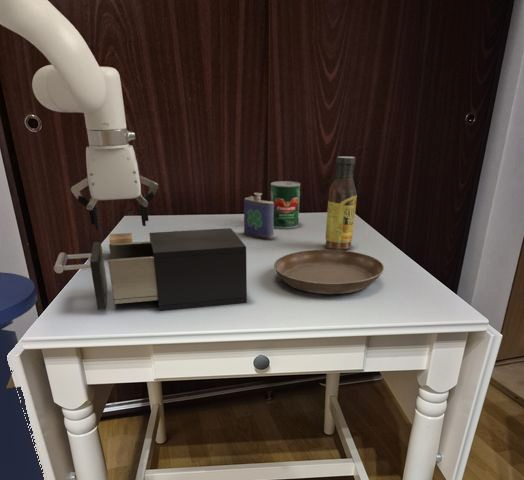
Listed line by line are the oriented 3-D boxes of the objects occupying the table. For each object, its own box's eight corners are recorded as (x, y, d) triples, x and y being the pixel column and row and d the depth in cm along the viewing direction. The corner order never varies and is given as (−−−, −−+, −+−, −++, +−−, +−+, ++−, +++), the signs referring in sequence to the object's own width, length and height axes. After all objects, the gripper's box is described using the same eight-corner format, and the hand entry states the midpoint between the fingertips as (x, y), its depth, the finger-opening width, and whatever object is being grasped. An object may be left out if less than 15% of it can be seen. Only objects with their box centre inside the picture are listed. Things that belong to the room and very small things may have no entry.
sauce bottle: (345, 252, 110) (353, 159, 100) (320, 248, 113) (325, 157, 103) (356, 246, 115) (364, 156, 105) (331, 242, 118) (338, 154, 108)
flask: (275, 238, 120) (276, 194, 115) (267, 240, 118) (268, 195, 113) (248, 232, 126) (247, 189, 121) (240, 234, 124) (239, 191, 119)
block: (112, 260, 104) (109, 239, 101) (112, 254, 107) (109, 234, 105) (134, 259, 105) (131, 238, 102) (133, 253, 108) (131, 232, 106)
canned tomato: (280, 230, 128) (281, 186, 123) (264, 224, 134) (264, 182, 129) (304, 226, 132) (306, 184, 127) (287, 220, 138) (289, 180, 132)
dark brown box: (159, 310, 80) (153, 252, 75) (154, 284, 90) (149, 232, 86) (246, 302, 83) (246, 246, 78) (232, 278, 94) (230, 227, 89)
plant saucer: (261, 293, 87) (261, 275, 85) (286, 260, 104) (287, 245, 103) (378, 305, 82) (380, 287, 80) (384, 268, 100) (386, 252, 98)
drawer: (60, 313, 76) (50, 264, 72) (67, 287, 86) (58, 244, 82) (182, 302, 80) (179, 255, 77) (176, 279, 90) (172, 237, 87)
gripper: (152, 136, 100) (160, 219, 108) (63, 138, 96) (79, 224, 105) (154, 139, 94) (163, 227, 102) (59, 142, 90) (77, 233, 98)
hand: (121, 226), depth 103 cm, fingers open, 9 cm apart
